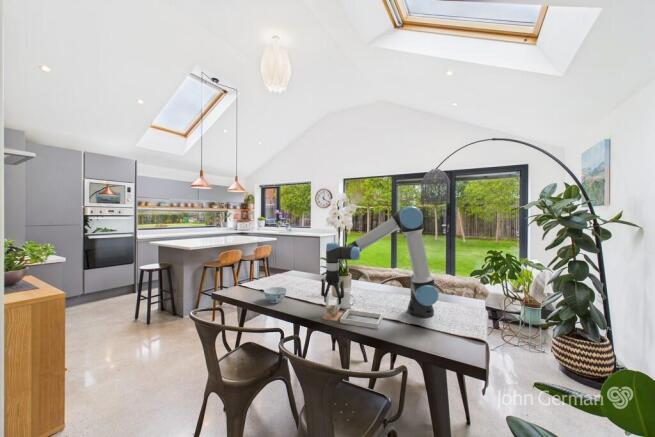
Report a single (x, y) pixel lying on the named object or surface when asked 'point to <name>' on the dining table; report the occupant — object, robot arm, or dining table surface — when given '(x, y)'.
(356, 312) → the bin
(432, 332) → the dining table surface
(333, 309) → the beige round lump
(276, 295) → the chinaware
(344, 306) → the mug
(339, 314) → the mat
